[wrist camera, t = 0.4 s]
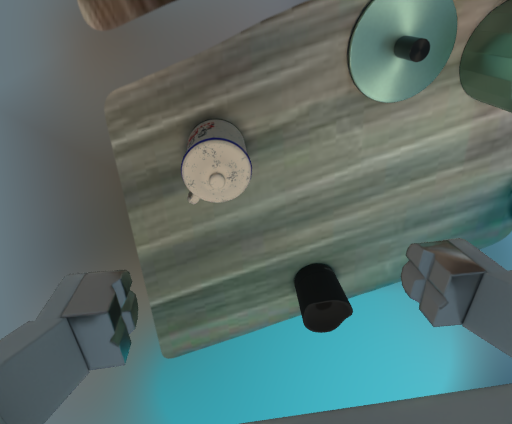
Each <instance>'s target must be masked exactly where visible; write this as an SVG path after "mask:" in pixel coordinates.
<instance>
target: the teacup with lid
mask: <svg viewBox="0 0 512 424" xmlns="http://www.w3.org/2000/svg"><path fill="white" fill-rule="evenodd" d="M181 174H182V178H183V181H184V183H185V185H186V186H187V188H188V189H189V190H190V191H189V194H188V202H190V203H192V204H195V203H197V202H198V201H199V200H200V199H203V200H205V201H209V202H225V201H229V200H231V199H234V198H235V197H237V196H239V195H240V194H241V193H242V192H243V191H244V190H245V189H246V187H247V186H248V184H249V182H250V179H251V175H252V165H251V161H250V158H249V156H248V155H247V151H246V146H245V142H244V139H243V136H242V134H241V133H240V131H239V130H238V129H237V128H236V127H235V126H234V125H232V124H231V123H229V122H226V121H223V120H208V121H205V122H203V123H201V124H199V125H198V126H197V127H195V128H194V130H193V131H192V132H191V134H190V136H189V139H188V144H187V149H186V154H185V155H184V158H183V160H182V164H181Z"/></svg>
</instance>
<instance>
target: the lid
mask: <svg viewBox="0 0 512 424" xmlns="http://www.w3.org/2000/svg"><path fill="white" fill-rule="evenodd" d="M456 34H457V14H456V9H455V6H454V3H453V1H452V0H373V1H372V2H371V3H370V4H369V5H368V7H367V8H366V9H365V11H364V12H363V14H362V15H361V17H360V18H359V20H358V22H357V24H356V26H355V29H354V32H353V34H352V38H351V42H350V47H349V68H350V73H351V76H352V78H353V81H354V83H355V84H356V86H357V87H358V89H359V90H360V91H361V92H362V93H363V94H364V95H366V96H367V97H369V98H371V99H373V100H375V101H379V102H386V103H391V102H398V101H402V100H405V99H408V98H410V97H412V96H414V95H416V94H417V93H419V92H420V91H422V90H423V89H425V88H426V87H427V86H428V85H429V84H430V83H431V82H432V81H433V80H434V79H435V78H436V77H437V76H438V74H439V73H440V72H441V70H442V69H443V67H444V66H445V64H446V62H447V60H448V59H449V56H450V54H451V52H452V49H453V46H454V43H455V39H456Z"/></svg>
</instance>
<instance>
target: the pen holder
mask: <svg viewBox="0 0 512 424" xmlns="http://www.w3.org/2000/svg"><path fill="white" fill-rule="evenodd" d="M295 288H296V293H297V297H298V302H299V306H300V310H301V314H302V318H303V323H304V325H305V327H306V328H307V329H309V330H311V331H313V332H321V333H322V332H330V331H332V330H334V329H336V328H337V327H338V326H339V325H340V324H341V323H342V322H343V321H344V320H345V319H346V318H348V317H349V316H351V315H352V313H353V309H352V307H351V305H350V303H349V301H348V299H347V297H346V295H345V293H344V291H343V289H342V287H341V285H340V283H339V281H338V279H337V277H336V275H335V274H334V272H333V270H332V269H331V268H330V267H328V266H326V265H322V264H314V265H309V266H307V267H305V268H303V269H302V270H301V271H300V272H299V273H298V274H297V276H296V277H295Z"/></svg>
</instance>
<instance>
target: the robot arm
mask: <svg viewBox="0 0 512 424" xmlns="http://www.w3.org/2000/svg"><path fill="white" fill-rule="evenodd" d="M406 256H407V258H408V260H409V261H408V262H407V263H406V264H405V265H404V266H403V268H402V273H401V280H402V286H403V288H404V290H405V292H406V293H407V295H408V296H409V297H410V298H411V299H413V300H415V301H417V302H419V304H420V305H419V310H420V311H421V312H422V313H423V315H424V316H425V317H426V318H427V319H428V321H429V322H430V323H431V324H432V326H433V327H440V326H451V325H461V324H463V327H465V328H467V329H468V330H470V331H471V332H473V333H474V334H476V335H477V336H479V337H481V338H482V339H484V340H485V341H487V342H488V343H490V344H492V345H493V346H495V347H496V348H498V349H499V350H501V351H502V352H504V353H506V354H507V355H509V356H510V357H512V270H510V271H507V270H505V269H504V268H503V267H502V266H500V265H499V264H497V263H496V262H495V261H493V260H492V259H491V258H489V257H488V256H487V255H485V254H484V253H483V252H481V251H480V250H479V249H477V248H476V247H474V246H473V245H472V244H470V243H469V242H468V241H466V240H464V239H461V238H456V239H448V240H443V241H435V242H424V243H414V244H411V245H410V246H409V247H408V249H407V253H406ZM131 284H132V279H131V276H130V273H129V272H128V271H127V270H117V271H103V272H89V273H78V274H69V275H67V276H65V277H64V278H63V279H62V281H61V282H60V284H59V285H58V287H57V288H56V290H55V291H54V293H53V294H52V296H51V297H50V299H49V300H48V302H47V303H46V305H45V306H44V308H43V309H42V311H41V312H40V314H39V315H38V317H37V318H36V320H35V321H28V322H27V323H25V324H23V325H22V326H21V327H19V328H17V329H16V330H14V331H13V332H11V333H10V334H8V335H7V336H5V337H4V338H2V339H1V340H0V424H44V423H45V422H46V421H47V420H48V418H49V417H50V416H51V415H52V414H53V413H54V412H55V411H56V409H57V408H58V407H59V406H60V405H61V404H62V403H63V402H64V400H65V399H66V398H67V397H68V396H69V395H70V394H71V393H72V391H73V390H74V389H75V388H76V387H77V386H78V385H79V384H80V383H81V381H82V380H83V379H84V378H85V377H86V376H87V375H88V373H89V370H96V369H102V368H109V367H115V366H121V365H125V363H126V359H127V356H128V353H129V349H130V345H131V340H130V337H129V334H130V333H131V332H132V331H133V330H134V329H135V327H136V323H137V319H138V303H137V298H136V294H135V293H133V292H132V291H130V287H131ZM241 424H512V384H505V385H498V386H491V387H485V388H478V389H472V390H465V391H458V392H452V393H445V394H438V395H431V396H424V397H418V398H411V399H404V400H397V401H391V402H384V403H378V404H371V405H364V406H358V407H350V408H343V409H337V410H330V411H323V412H317V413H309V414H302V415H296V416H289V417H282V418H275V419H269V420H262V421H255V422H248V423H241Z"/></svg>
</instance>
